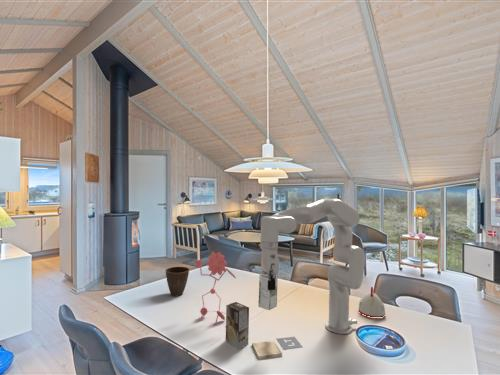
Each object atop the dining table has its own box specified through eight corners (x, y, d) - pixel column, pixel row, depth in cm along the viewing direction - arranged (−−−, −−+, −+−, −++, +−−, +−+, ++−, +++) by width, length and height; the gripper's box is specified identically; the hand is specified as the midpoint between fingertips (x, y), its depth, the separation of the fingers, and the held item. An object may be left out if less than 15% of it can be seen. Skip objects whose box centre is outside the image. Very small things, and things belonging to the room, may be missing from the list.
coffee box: (249, 344, 122) (250, 307, 123) (238, 349, 118) (239, 311, 118) (235, 336, 129) (236, 301, 129) (224, 341, 124) (225, 304, 125)
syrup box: (266, 303, 122) (266, 270, 123) (277, 306, 118) (277, 272, 119) (258, 307, 118) (258, 272, 118) (269, 310, 114) (270, 275, 114)
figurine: (229, 329, 135) (231, 256, 137) (186, 318, 147) (189, 251, 148) (243, 317, 149) (245, 252, 151) (203, 308, 160) (206, 247, 162)
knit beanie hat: (357, 315, 155) (357, 288, 156) (359, 307, 168) (359, 282, 168) (385, 321, 149) (385, 293, 150) (385, 312, 162) (385, 286, 162)
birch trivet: (273, 343, 124) (273, 340, 124) (281, 356, 114) (282, 352, 114) (252, 345, 121) (252, 342, 121) (258, 359, 111) (258, 355, 111)
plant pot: (183, 299, 172) (183, 273, 173) (160, 297, 174) (161, 271, 175) (191, 291, 187) (192, 267, 187) (170, 289, 189) (171, 266, 190)
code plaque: (294, 336, 130) (294, 336, 130) (302, 347, 121) (302, 346, 121) (276, 338, 128) (276, 338, 128) (283, 349, 119) (283, 349, 119)
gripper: (285, 248, 111) (284, 293, 111) (270, 241, 128) (270, 280, 128) (267, 249, 109) (266, 294, 109) (255, 241, 126) (254, 280, 126)
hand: (268, 286), depth 118 cm, fingers closed on syrup box, 7 cm apart
